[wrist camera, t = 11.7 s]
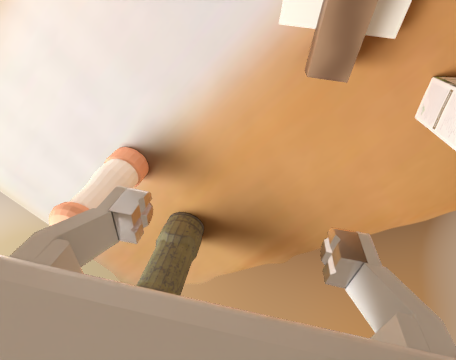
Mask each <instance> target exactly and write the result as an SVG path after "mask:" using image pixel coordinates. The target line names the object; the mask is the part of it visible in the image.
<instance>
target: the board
mask: <svg viewBox="0 0 456 360" xmlns="http://www.w3.org/2000/svg"><path fill="white" fill-rule="evenodd" d="M411 1H412V0H378V2H377V5H376V8H375V10H374V13H373V16H372V18H371V21H370V24H369V26H368V29H367V32H366V34H365V35H368V36H376V37H384V38H392V39H395V38H396V35H397V33H398V31H399V28H400V26H401V24H402V22H403V19H404V17H405V15H406V13H407V10H408V8H409V6H410V4H411ZM322 3H323V0H283V3H282V8H281V14H280V19H279V24H281V25H289V26H297V27H304V28H312V29H316V26H317V22H318V18H319V14H320V11H321V7H322Z"/></svg>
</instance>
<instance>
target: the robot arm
mask: <svg viewBox="0 0 456 360" xmlns="http://www.w3.org/2000/svg"><path fill="white" fill-rule="evenodd" d="M151 199H152V197H151V193H150V192H147V191H142V190H137V189H133V188H127V187H123V186H117V187H115V188H114V189H113V190H112V192H111V193H110V194H109V195H108V196H107V197H106V198H105V199H104V200H103V201H102V203H101V204H100V205H99V206H98V207H97V208H92V209H89V210H87V211H84V212H82V213H80V214H77V215H75V216H73V217H70V218H68V219H66V220H63V221H61V222H58V223H56V224H54V225H51V226H49V227H47V228H44V229H42V230H39V231H37V232H35V233H34V234H33V235H32V236H31V237H29V238H28V239H27V240H26V241H25V242H24V243H23V244H22V245H21V246H20V247H19V248H17V249H16V250H15V251H14V252H13V253H12V254H11V255H10V256H9V257H7V256H3V255H0V360H456V346H455V344H454V342H453V340H452V338H451V336H450V334H449V332H448V330H447V328H446V326H445V324H444V322H443V321H442V320H441V319H440V318H439V317H438V316H437V315H436V314H435V313H434V312H433V311H432V310H431V309H430V308H429V307H428V306H426V305H425V304H424V303H423V302H422V301H421V300H420V299H419V298H418V297H417V296H416V295H415V294H414V293H413V292H412V291H411V290H410V289H409V288H408V287H406V286H405V285H404V284H403V283H402V282H401V281H400V280H399V279H398V278H397V277H396V276H395V275H394V274H393V273H392V272H391V271H390V270H388V269H387V268H386V267H383V266H382V264H381V262H380V259H379V257H378V254H377V251H376V249H375V246H374V244H373V241H372V239H371V236H370V235H369V234H367V233H361V232H355V231H350V230H344V229H339V228H334V227H331V228H330V229H329V231H328V238H327V239H325V240H324V241H323V243H322V246H321V261H322V262H323V263H324V265H325V267H324V268H323V275H324V281H325V284H328V285H332V286H337V287H341V288H345V289H346V291H347V293H348V294H349V296H350V297H351V299H352V300H353V301H354V303H355V304H356V306H357V307H358V309H359V310H360V312H361V313H362V314H363V316H364V317H365V319H366V320H367V322H368V323H369V324H370V326H371V327H372V329H373V330H374V332H375V334H374V335H373V336H372V337H371V338H370V339H369V338H365V337H360V336H356V335H351V334H347V333H342V332H338V331H334V330H329V329H325V328H320V327H316V326H311V325H307V324H303V323H298V322H294V321H289V320H285V319H281V318H276V317H272V316H268V315H263V314H258V313H254V312H250V311H245V310H241V309H237V308H232V307H228V306H223V305H219V304H214V303H209V302H205V301H201V300H197V299H192V298H188V297H183V296H179V295H175V294H170V293H166V292H162V291H157V290H153V289H148V288H144V287H139V286H135V285H131V284H126V283H122V282H117V281H113V280H109V279H104V278H100V277H95V276H91V275H87V274H84V273H83V271H82V269H81V267H82V266H83V265H85V264H86V263H88V262H89V261H91V260H92V259H94V258H95V257H97V256H98V255H100V254H101V253H103V252H104V251H106V250H107V249H109V248H110V247H112V246H113V245H115V244H116V243H118V242H119V241H124V242H129V243H135V244H137V243H138V241H139V240H140V238H141V236H142V235H143V233H144V231H143V228H144V227H146V226H148V225H149V223H150V221H151V218H152V215H153V206H152V205H151V203H150V201H151Z"/></svg>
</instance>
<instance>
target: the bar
mask: <svg viewBox="0 0 456 360" xmlns="http://www.w3.org/2000/svg"><path fill="white" fill-rule="evenodd" d="M377 2H378V0H323V3H322V7H321V11H320V14H319V18H318V22H317V26H316V29H315V33H314V37H313V41H312V44H311V48H310V52H309V56H308V59H307V63H306V67H305V73H306V75H307V77H312V78H319V79H326V80H333V81H339V82H346V83H347V82H348V80H349V77H350V74H351V72H352V69H353V66H354V64H355V61H356V58H357V56H358V53H359V50H360V48H361V45H362V42H363V40H364V37H365V34H366V32H367V29H368V26H369V24H370V21H371V18H372V16H373V13H374V10H375V8H376V5H377Z"/></svg>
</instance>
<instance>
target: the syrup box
mask: <svg viewBox="0 0 456 360" xmlns="http://www.w3.org/2000/svg"><path fill="white" fill-rule="evenodd" d="M415 118H416V119H417V120H418V121H419V122H421V123H422V124H423V125H424V126H426V127H427V128H428V129H429V130H430V131H432V132H433V133H434V134H435V135H437V136H438V137H439V138H440V139H442V140H443V141H444V142H445V143H447V144H448V145H449V146H450V147H451V148H453V149H454V150H455V151H456V77H433V78H432V79H431V81H430V84H429V86H428V88H427V90H426V92H425V94H424V97H423V99H422V101H421V104H420V106H419V108H418V110H417V113H416V115H415Z"/></svg>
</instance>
